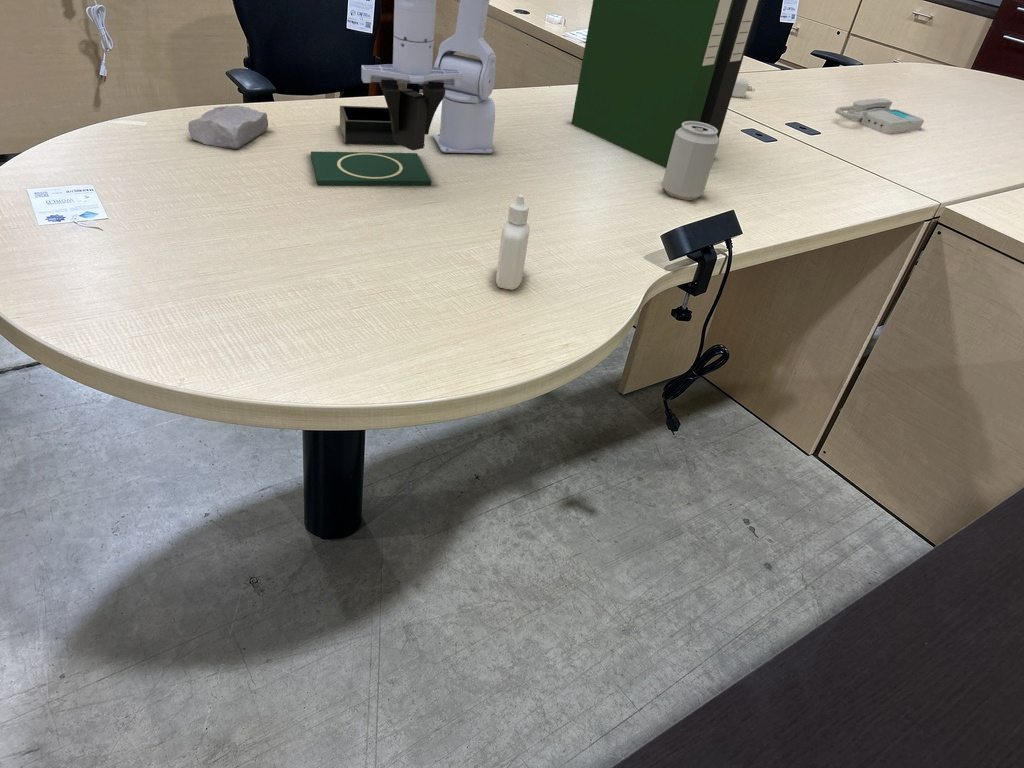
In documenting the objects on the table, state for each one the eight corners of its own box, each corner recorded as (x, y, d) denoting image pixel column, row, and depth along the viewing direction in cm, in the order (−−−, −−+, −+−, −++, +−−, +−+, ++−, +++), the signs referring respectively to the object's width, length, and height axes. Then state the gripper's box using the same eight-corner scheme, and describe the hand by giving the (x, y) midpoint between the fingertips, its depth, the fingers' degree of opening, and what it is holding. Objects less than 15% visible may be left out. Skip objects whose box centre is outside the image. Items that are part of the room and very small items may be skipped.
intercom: (827, 101, 181) (884, 95, 194) (820, 119, 184) (877, 112, 196) (873, 119, 173) (929, 112, 186) (865, 137, 175) (921, 129, 188)
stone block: (186, 150, 122) (241, 150, 120) (178, 121, 120) (233, 120, 118) (224, 132, 132) (274, 131, 130) (216, 104, 129) (268, 103, 127)
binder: (568, 123, 154) (599, -51, 135) (613, 115, 163) (648, -50, 144) (671, 170, 140) (722, -17, 121) (714, 157, 149) (767, -19, 130)
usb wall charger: (723, 92, 192) (728, 76, 190) (747, 94, 193) (752, 79, 191) (728, 96, 189) (733, 80, 187) (753, 99, 190) (758, 83, 188)
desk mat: (416, 157, 129) (417, 152, 128) (431, 185, 120) (431, 180, 119) (310, 155, 123) (310, 150, 122) (317, 185, 114) (317, 179, 114)
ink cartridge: (424, 149, 114) (429, 96, 109) (413, 151, 112) (417, 98, 107) (403, 138, 116) (406, 86, 111) (392, 140, 114) (395, 88, 110)
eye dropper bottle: (482, 280, 97) (492, 195, 90) (509, 267, 101) (520, 184, 94) (508, 293, 95) (520, 207, 88) (534, 280, 99) (548, 196, 92)
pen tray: (400, 129, 139) (401, 107, 136) (408, 145, 133) (409, 122, 130) (339, 127, 135) (339, 105, 133) (345, 143, 129) (345, 121, 127)
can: (704, 191, 133) (724, 125, 126) (699, 205, 128) (719, 137, 120) (664, 181, 135) (681, 115, 128) (657, 195, 129) (675, 126, 122)
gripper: (366, 41, 100) (366, 140, 108) (469, 47, 104) (461, 142, 112) (359, 28, 105) (359, 123, 113) (457, 34, 109) (450, 125, 117)
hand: (409, 131), depth 113 cm, fingers closed on ink cartridge, 4 cm apart
